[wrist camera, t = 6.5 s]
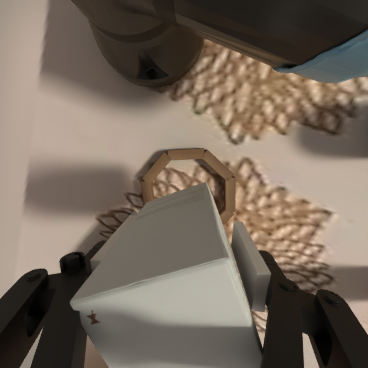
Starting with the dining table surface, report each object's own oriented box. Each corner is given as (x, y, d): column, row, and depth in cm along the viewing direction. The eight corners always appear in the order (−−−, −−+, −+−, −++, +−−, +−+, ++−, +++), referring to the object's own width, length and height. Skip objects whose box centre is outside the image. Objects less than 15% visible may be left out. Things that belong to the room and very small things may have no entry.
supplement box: (169, 257, 21) (131, 416, 9) (144, 201, 20) (59, 302, 8) (229, 240, 20) (279, 395, 8) (208, 179, 19) (230, 256, 6)
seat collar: (127, 196, 31) (124, 198, 30) (185, 129, 28) (184, 128, 26) (191, 249, 33) (191, 254, 31) (252, 191, 30) (255, 194, 28)
